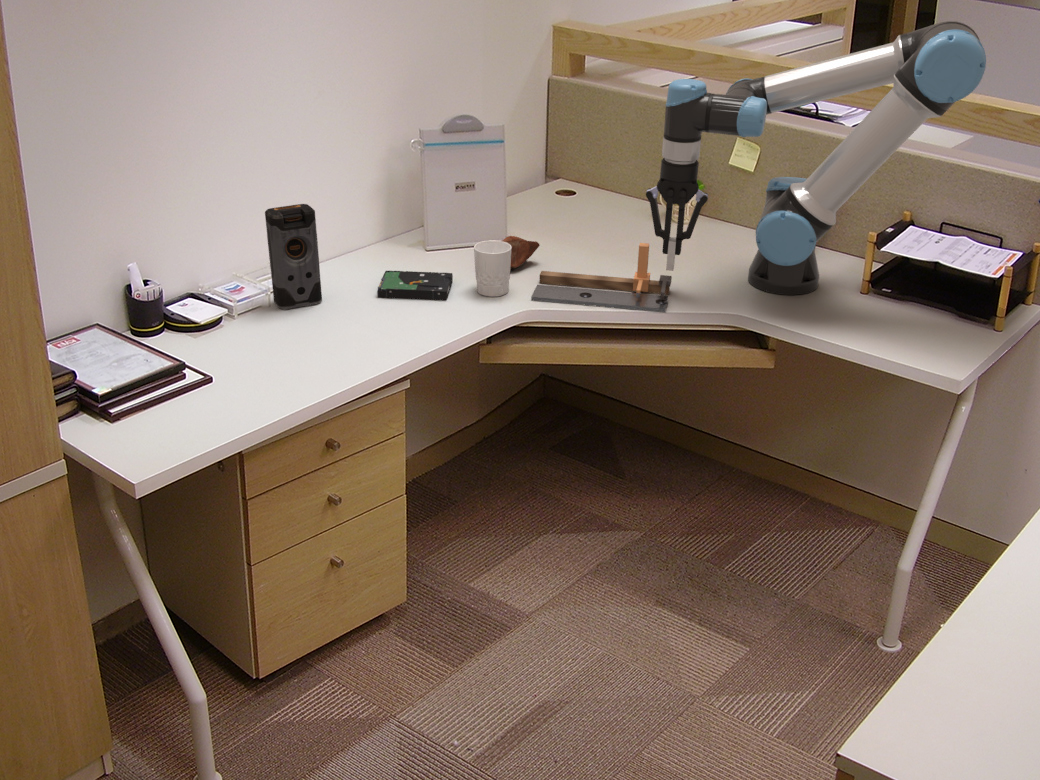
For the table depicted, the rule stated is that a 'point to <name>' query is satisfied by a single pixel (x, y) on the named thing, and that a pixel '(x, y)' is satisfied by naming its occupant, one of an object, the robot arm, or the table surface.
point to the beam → (604, 282)
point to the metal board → (599, 298)
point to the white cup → (492, 267)
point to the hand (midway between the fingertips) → (670, 268)
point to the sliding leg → (642, 270)
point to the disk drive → (415, 285)
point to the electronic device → (293, 256)
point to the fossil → (520, 250)
